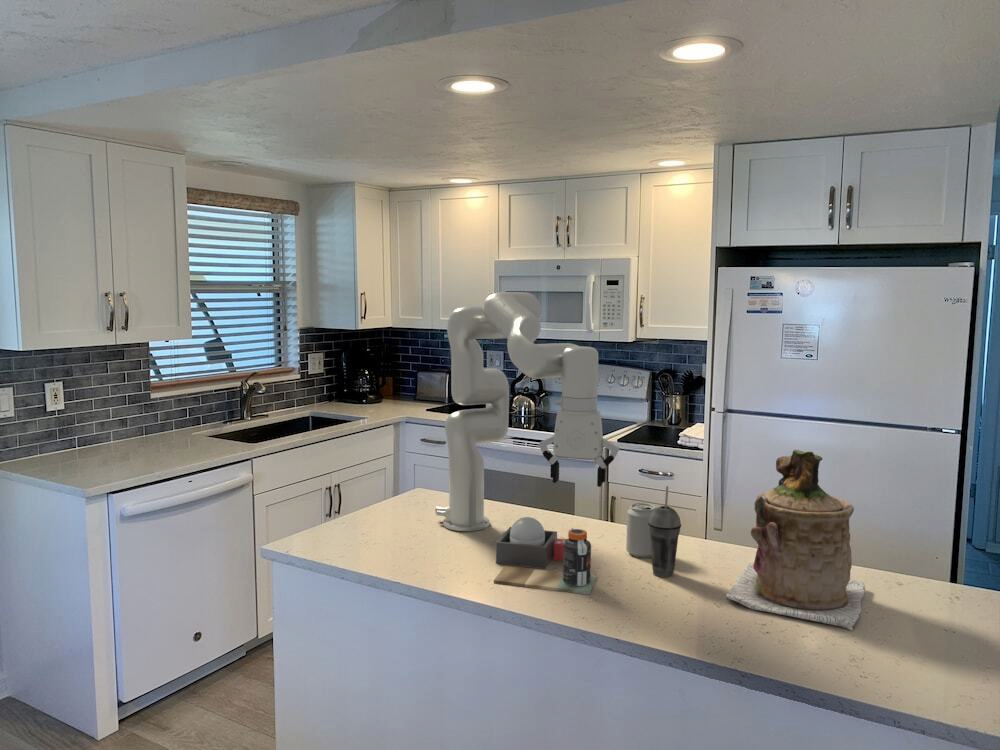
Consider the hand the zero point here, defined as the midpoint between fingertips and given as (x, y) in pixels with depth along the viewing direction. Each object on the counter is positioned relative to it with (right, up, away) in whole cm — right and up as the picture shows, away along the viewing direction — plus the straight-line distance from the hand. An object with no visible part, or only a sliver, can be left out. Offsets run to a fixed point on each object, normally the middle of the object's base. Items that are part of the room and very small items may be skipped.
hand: (577, 483), depth 158 cm
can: (+18, -20, +21) cm, 34 cm away
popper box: (-8, -20, +17) cm, 28 cm away
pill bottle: (0, -22, +2) cm, 22 cm away
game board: (-7, -22, +4) cm, 23 cm away
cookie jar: (+45, -24, -4) cm, 51 cm away
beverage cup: (+20, -22, +8) cm, 31 cm away
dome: (-10, -19, +18) cm, 28 cm away
